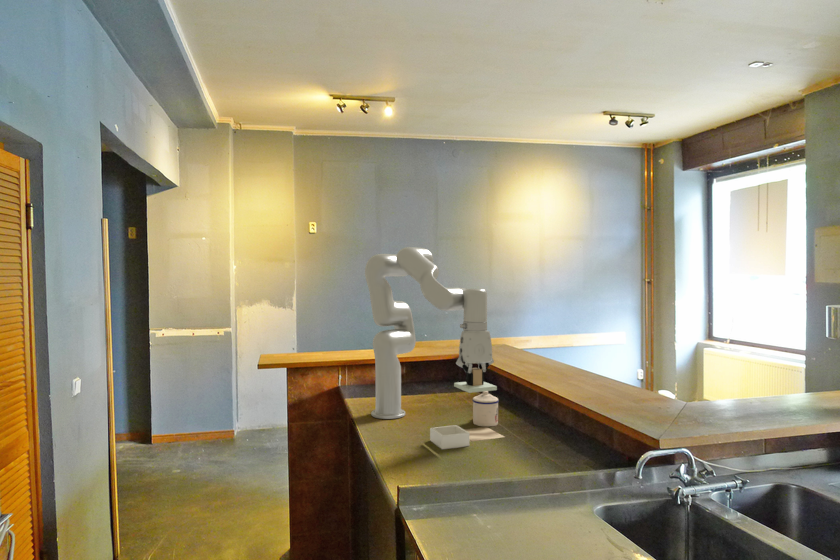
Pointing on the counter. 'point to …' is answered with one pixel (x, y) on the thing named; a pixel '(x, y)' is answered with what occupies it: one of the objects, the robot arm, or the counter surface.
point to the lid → (475, 383)
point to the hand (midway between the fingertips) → (475, 383)
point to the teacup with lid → (485, 410)
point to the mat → (482, 434)
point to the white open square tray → (449, 437)
